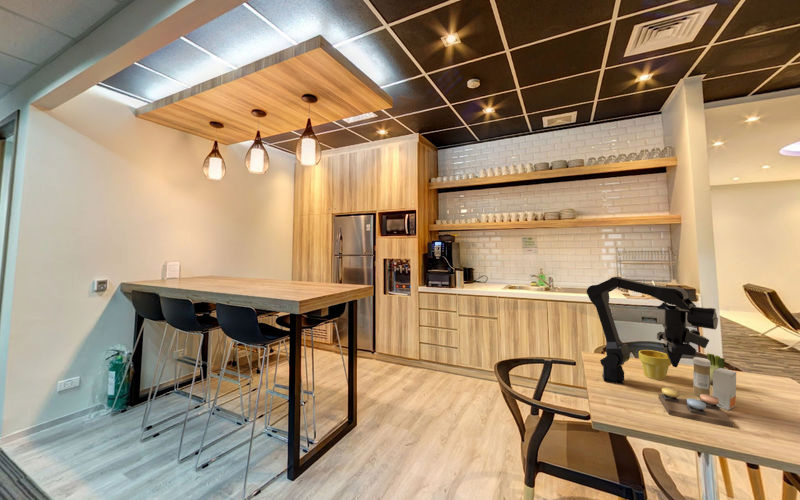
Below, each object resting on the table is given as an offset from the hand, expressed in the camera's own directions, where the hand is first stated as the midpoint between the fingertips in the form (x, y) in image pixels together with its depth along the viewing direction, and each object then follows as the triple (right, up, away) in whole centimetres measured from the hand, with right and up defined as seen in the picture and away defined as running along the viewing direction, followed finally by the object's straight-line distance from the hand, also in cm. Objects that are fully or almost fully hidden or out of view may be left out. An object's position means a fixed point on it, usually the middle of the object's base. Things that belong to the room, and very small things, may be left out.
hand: (674, 366), depth 108 cm
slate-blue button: (-2, -10, -10) cm, 14 cm away
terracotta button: (+5, -10, -7) cm, 13 cm away
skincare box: (+14, -12, -4) cm, 19 cm away
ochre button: (-4, -10, -2) cm, 10 cm away
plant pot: (+9, -12, +19) cm, 25 cm away
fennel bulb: (+27, -12, +12) cm, 32 cm away
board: (-1, -12, -7) cm, 14 cm away
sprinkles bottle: (+13, -12, +4) cm, 18 cm away
